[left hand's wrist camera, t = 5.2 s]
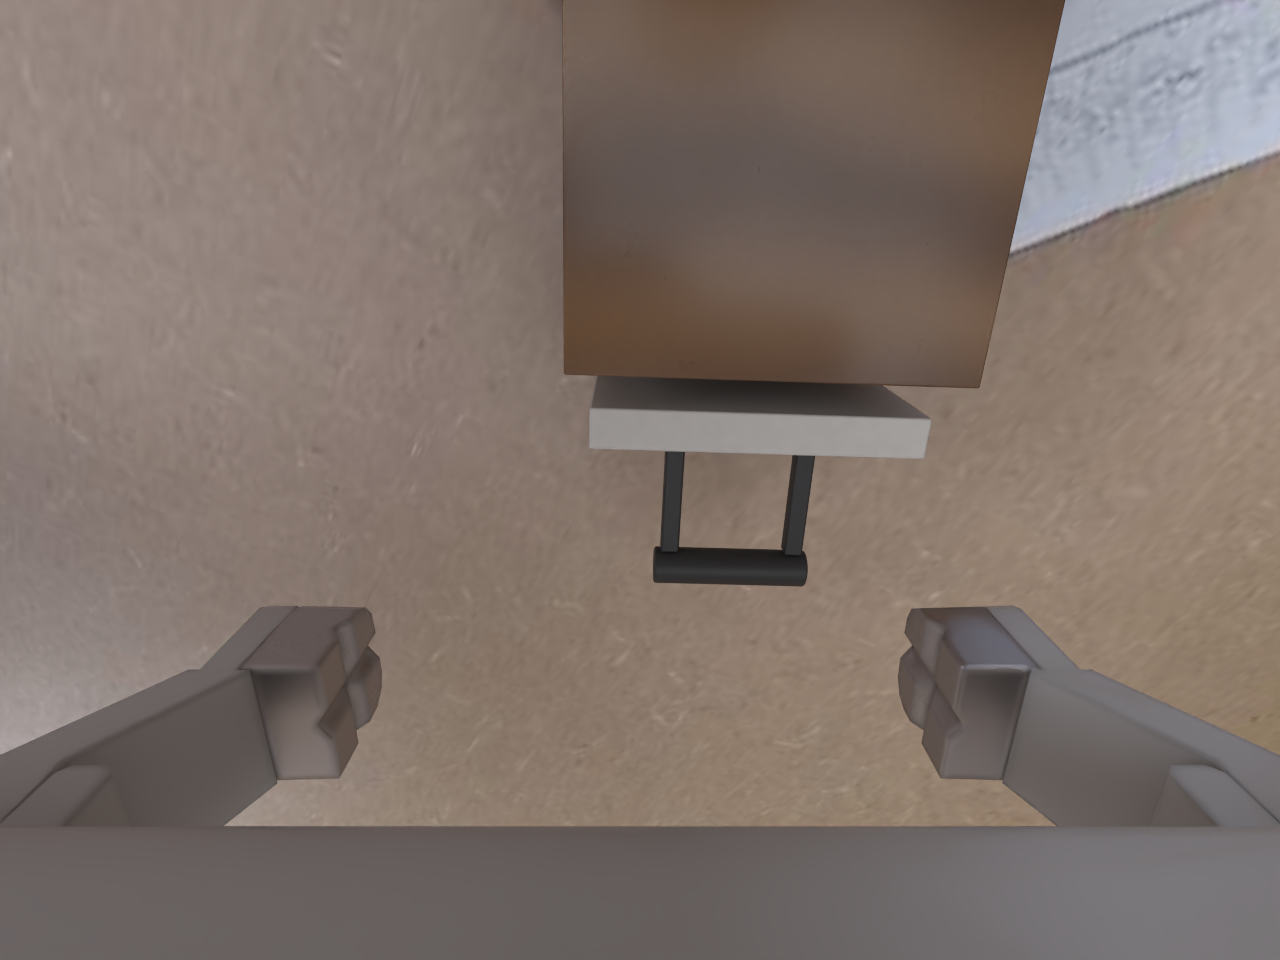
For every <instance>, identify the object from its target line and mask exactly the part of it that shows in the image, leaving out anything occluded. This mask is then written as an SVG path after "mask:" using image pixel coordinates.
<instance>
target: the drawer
mask: <svg viewBox="0 0 1280 960" xmlns="http://www.w3.org/2000/svg"><path fill="white" fill-rule="evenodd" d="M931 422H932V420H931V418H929V417H928V416H926V415H925V414H923V413H922V412H921V411H919V410H918V409H916V408H915V407H913V406H912V405H910V404H909V403H907V402H906V401H904V400H903V399H901V398H900V397H899V396H897V395H896V394H894V393H893V392H891V391H890V390H888V389H887V388H885V387H884V386H882V385H864V384H834V383H804V382H774V381H744V380H714V379H684V378H654V377H624V376H596V380H595V385H594V390H593V394H592V399H591V404H590V409H589V448H590V449H608V450H641V451H665V464H664V483H663V502H662V521H661V540H660V546H661V547H657V546H656V547H655V548H654V555H653V580H654V582H655V583H690V584H729V585H769V586H804V585H805V583H806V579H807V572H808V566H807V558H806V555H805V552H804V551H802V547H803V539H804V532H805V525H806V518H807V510H808V503H809V496H810V488H811V481H812V474H813V467H814V459H815V456H838V457H871V458H903V459H924V457H925V452H926V447H927V442H928V437H929V432H930V427H931ZM685 452H707V453H740V454H772V455H793V457H792V465H791V473H790V481H789V489H788V497H787V505H786V513H785V521H784V529H783V537H782V545H781V548H782V550H769V549H731V548H694V547H679V535H680V519H681V504H682V488H683V472H684V457H685Z"/></svg>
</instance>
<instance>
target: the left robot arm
mask: <svg viewBox="0 0 1280 960" xmlns="http://www.w3.org/2000/svg"><path fill="white" fill-rule="evenodd" d="M374 634H375V628H374V623H373V618H372V614H371V613H370V612H369V611H368V609H367V608H365V607H315V606H301V607H298V606H268V607H263V608H260V609H259V610H258V611H257V612H256V613H255V614H254V615H253V616H252V617H251V618H250V619H249V620H248V621H247V622H246V623H245V624H244V625H243V626H242V627H241V628H240V629H239V630H238V631H237V632H236V633H235V634H234V635H233V636H232V637H231V638H230V639H229V640H228V641H227V642H226V643H225V644H224V645H223V646H222V647H221V648H220V649H219V650H218V651H217V653H216V654H215V655H214V656H213V657H212V658H211V659H210V660H209V661H208V662H207V663H206V664H205V665H204V666H203V667H202V668H201V669H200V670H187V671H185V672H182V673H180V674H178V675H176V676H174V677H171V678H169V679H167V680H165V681H163V682H160V683H158V684H156V685H154V686H152V687H149V688H147V689H145V690H143V691H141V692H138V693H136V694H134V695H132V696H130V697H127V698H125V699H123V700H121V701H119V702H116V703H114V704H112V705H110V706H107V707H105V708H103V709H101V710H99V711H96V712H94V713H92V714H90V715H88V716H85V717H83V718H81V719H79V720H77V721H74V722H72V723H70V724H68V725H66V726H63V727H61V728H59V729H57V730H55V731H52V732H50V733H48V734H46V735H43V736H41V737H39V738H37V739H35V740H32V741H30V742H28V743H26V744H24V745H21V746H19V747H17V748H15V749H13V750H10V751H8V752H6V753H4V754H2V755H0V960H1280V755H1278V754H1276V753H1274V752H1271V751H1269V750H1267V749H1265V748H1263V747H1260V746H1258V745H1256V744H1254V743H1252V742H1249V741H1247V740H1245V739H1243V738H1241V737H1238V736H1236V735H1234V734H1232V733H1230V732H1227V731H1225V730H1223V729H1221V728H1219V727H1216V726H1214V725H1212V724H1210V723H1208V722H1205V721H1203V720H1201V719H1199V718H1197V717H1194V716H1192V715H1190V714H1188V713H1186V712H1183V711H1181V710H1179V709H1177V708H1175V707H1172V706H1170V705H1168V704H1166V703H1164V702H1161V701H1159V700H1157V699H1155V698H1153V697H1150V696H1148V695H1146V694H1144V693H1142V692H1139V691H1137V690H1135V689H1133V688H1131V687H1128V686H1126V685H1124V684H1122V683H1120V682H1117V681H1115V680H1113V679H1111V678H1109V677H1106V676H1104V675H1102V674H1100V673H1098V672H1095V671H1093V670H1080V669H1079V668H1078V667H1077V666H1076V665H1075V664H1074V663H1073V662H1072V661H1071V660H1070V659H1069V658H1068V657H1067V656H1066V654H1065V653H1064V652H1063V651H1062V650H1061V649H1060V648H1059V647H1058V646H1057V645H1056V644H1055V643H1054V642H1053V641H1052V640H1051V639H1050V638H1049V637H1048V636H1047V635H1046V634H1045V633H1044V632H1043V631H1042V630H1041V629H1040V628H1039V627H1038V626H1037V625H1036V624H1035V623H1034V622H1033V621H1032V620H1031V619H1030V618H1029V616H1028V615H1027V614H1026V613H1025V612H1024V611H1023V610H1022V609H1020V608H1017V607H1015V606H986V607H953V608H917V609H911V611H910V613H909V615H908V617H907V622H906V627H905V634H906V636H907V638H908V639H909V641H910V642H911V644H912V646H911V647H910V648H909V650H908V651H907V652H906V653H905V654H904V655H903V656H902V657H901V658H900V664H899V672H898V683H899V695H900V698H901V702H902V705H903V708H904V710H905V712H906V714H907V716H908V718H909V720H910V721H911V722H912V723H914V724H915V725H917V726H918V727H920V728H921V729H923V730H924V733H923V738H922V745H923V747H924V749H925V750H926V752H927V754H928V756H929V758H930V760H931V761H932V763H933V765H934V767H935V769H936V771H937V772H938V774H939V776H940V778H947V779H983V780H1003V784H1005V785H1006V786H1007V787H1008V788H1010V789H1011V790H1012V791H1013V792H1015V793H1016V794H1017V795H1018V796H1020V797H1021V798H1022V799H1023V800H1025V801H1026V802H1027V803H1029V804H1030V805H1031V806H1032V807H1034V808H1035V809H1036V810H1037V811H1039V812H1040V813H1041V814H1042V815H1044V816H1045V817H1046V818H1047V819H1049V820H1050V821H1051V822H1052V823H1054V824H1055V825H1056V826H224V825H225V824H227V823H228V822H229V821H230V820H232V819H233V818H234V817H235V816H237V815H238V814H239V813H240V812H242V811H243V810H244V809H245V808H247V807H248V806H249V805H250V804H252V803H253V802H254V801H256V800H257V799H258V798H259V797H261V796H262V795H263V794H264V793H266V792H267V791H268V790H269V789H271V788H272V787H273V786H274V785H276V784H277V780H296V779H332V778H340V776H341V774H342V773H343V771H344V769H345V767H346V765H347V763H348V762H349V760H350V758H351V756H352V754H353V752H354V750H355V749H356V747H357V745H358V738H357V733H356V730H357V729H359V728H360V727H362V726H363V725H365V724H366V723H368V722H369V721H370V720H371V718H372V716H373V714H374V712H375V710H376V708H377V706H378V701H379V697H380V693H381V688H382V670H381V663H380V658H379V657H378V656H377V655H376V654H375V653H374V652H373V651H372V649H371V648H370V647H369V646H368V644H369V642H370V641H371V639H372V638H373V636H374Z"/></svg>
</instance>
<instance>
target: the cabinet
mask: <svg viewBox="0 0 1280 960" xmlns="http://www.w3.org/2000/svg"><path fill="white" fill-rule="evenodd" d="M1064 3H1065V0H562V22H563V282H564V374H566V375H593V376H624V377H654V378H684V379H714V380H744V381H774V382H804V383H834V384H864V385H894V386H924V387H954V388H979V387H980V383H981V378H982V374H983V369H984V365H985V360H986V356H987V351H988V347H989V342H990V337H991V333H992V328H993V324H994V319H995V315H996V310H997V306H998V301H999V297H1000V292H1001V288H1002V283H1003V279H1004V274H1005V270H1006V265H1007V261H1008V256H1009V252H1010V247H1011V243H1012V238H1013V233H1014V229H1015V224H1016V220H1017V215H1018V211H1019V206H1020V202H1021V197H1022V193H1023V188H1024V184H1025V179H1026V175H1027V170H1028V166H1029V161H1030V157H1031V152H1032V148H1033V143H1034V139H1035V134H1036V129H1037V125H1038V120H1039V116H1040V111H1041V107H1042V102H1043V98H1044V93H1045V89H1046V84H1047V80H1048V75H1049V71H1050V66H1051V62H1052V57H1053V53H1054V48H1055V44H1056V39H1057V34H1058V30H1059V25H1060V21H1061V16H1062V12H1063V7H1064Z"/></svg>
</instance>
